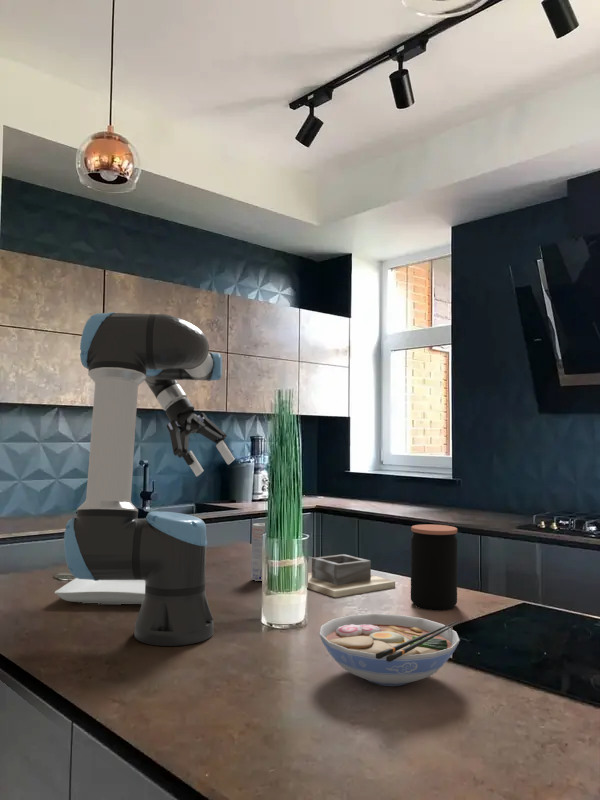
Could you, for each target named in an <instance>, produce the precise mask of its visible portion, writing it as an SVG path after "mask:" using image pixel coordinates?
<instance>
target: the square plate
mask: <svg viewBox="0 0 600 800" xmlns="http://www.w3.org/2000/svg"><path fill="white" fill-rule="evenodd" d="M53 594H55V595H57V596H58V597H59V598H61V599H62V600H64V601H67V602H74V603H80V602H82V603H81V604H85V603H98V604H97V605H121V604H142V602H143V599H144V596H145V580H98V581H94V580H88V579H78V578H76V577H74V579H72V580H70V581H69V582H67V583H66V584H64V585H62V586H61V587H60V588H58V589H57V590H55V591H54V593H53ZM100 603H101V604H100Z"/></svg>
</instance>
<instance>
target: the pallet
mask: <svg viewBox="0 0 600 800" xmlns="http://www.w3.org/2000/svg"><path fill="white" fill-rule="evenodd" d="M371 572H372V561H371V560H370V559H365V558H361V557H357V556H354V555H353V556H352V555H349V554H345V553H342V554H335V555H333V554H332V555H325V556H319V557H312V558H311V572H307V573H308V588H307V589H309V590H311V591H313V592H314V591H315V592H318V593H322V594H323V595H326V596H330V597H333V598H339V597H346V596H351V595H352V596H353V595H356V594H357V595H358V594H364V593H369V592H377V591H382V590H387V589H393V588H396V581H394V580H391V579H388V578H385V577H382V576H376V575H373V574H372V573H371Z"/></svg>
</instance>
